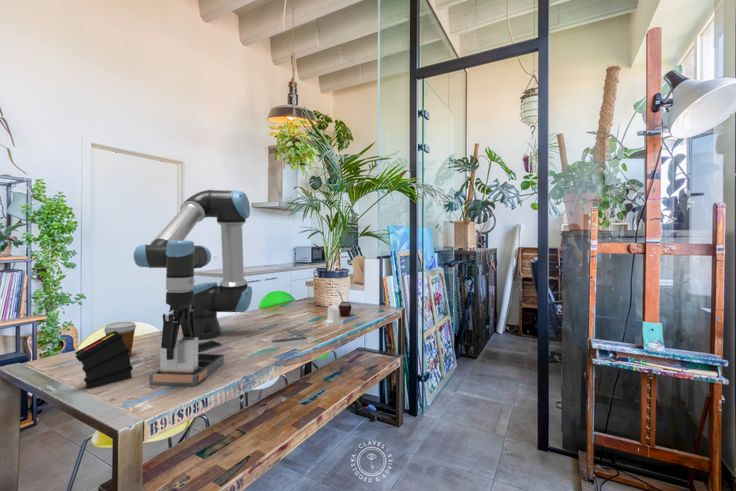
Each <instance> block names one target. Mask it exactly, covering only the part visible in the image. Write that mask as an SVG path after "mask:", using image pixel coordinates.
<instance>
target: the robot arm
mask: <svg viewBox="0 0 736 491" xmlns="http://www.w3.org/2000/svg"><path fill="white" fill-rule="evenodd" d="M250 213H251V204H250V201H249V198H248V196H247V194H246V193H245V192H243V191H240V190H222V189H220V190H214V189H206V190H203V191H199V192H197V193H195V194H193V195H191V196H190V197H188V198H187V199H186V200H184V201H183V203H182V204H181V206H180V207H179V211H178V212H177V213H176V215H175V216H174V217H173V218H172V219H171V220H170V221H169V223H167V225H166V226H165V227H164V228H163V229H162V230H161V231H160V232H159V234H158V235H157V236H156V237H155V238H154V240H152V241H151V243H150V244H140V245H138V246H136V247H135V249H134V252H133V261H134V262H135V264H136V266H138V267H140V268H149V269H165V270H166V274H165V276H166V278H165V290H166V293H165V303H166V305H169V310H168V313H162V321H163V322H162V323H163V324H162V334H161V339H162V342H161V348H166V350H167V370H176V369H177V347H175V346H176V341H177V337H179V331H180V329H181V332H182V337H198V340H206V339H212V338H215V337H218V336H220V335H221V334H222V331H221V330H222V328H221V325H220V322H219V319H218V313H244V312H246V311H247V310H248V309H249V307H250V305H251V301H252V296H253V287H252V286H250V285H248V281H247V280H246V279H245V278H244V274H245V273H244V250H243V249H244V248H243V246H244V244H243V225H244V224H246V222H247V221H246V219H248V218H250V215H251V214H250ZM205 218H216V222H217V224H218V225H219V226H220V235H221V237H220V238H221V258H222V280H221V281H220V282H219V284H218V282H217V281H216V282H213V281H212V282H203V283H198V284H195V283H196V282H195V279H194V277H195V269H201V268H203V267H205V266H207V265H208V264H209V263H210V262H211V260H212V254H211V251H210V250H209V249H208V248H207V247H206V246H204V245H195V242H194V241H192V240H185V239H186V238H187V236H188V235H189V234H190V232H192V230H193V229H194V227H195V226H196V225H197V223H199V222H202V221H203V220H204V219H205Z"/></svg>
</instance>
